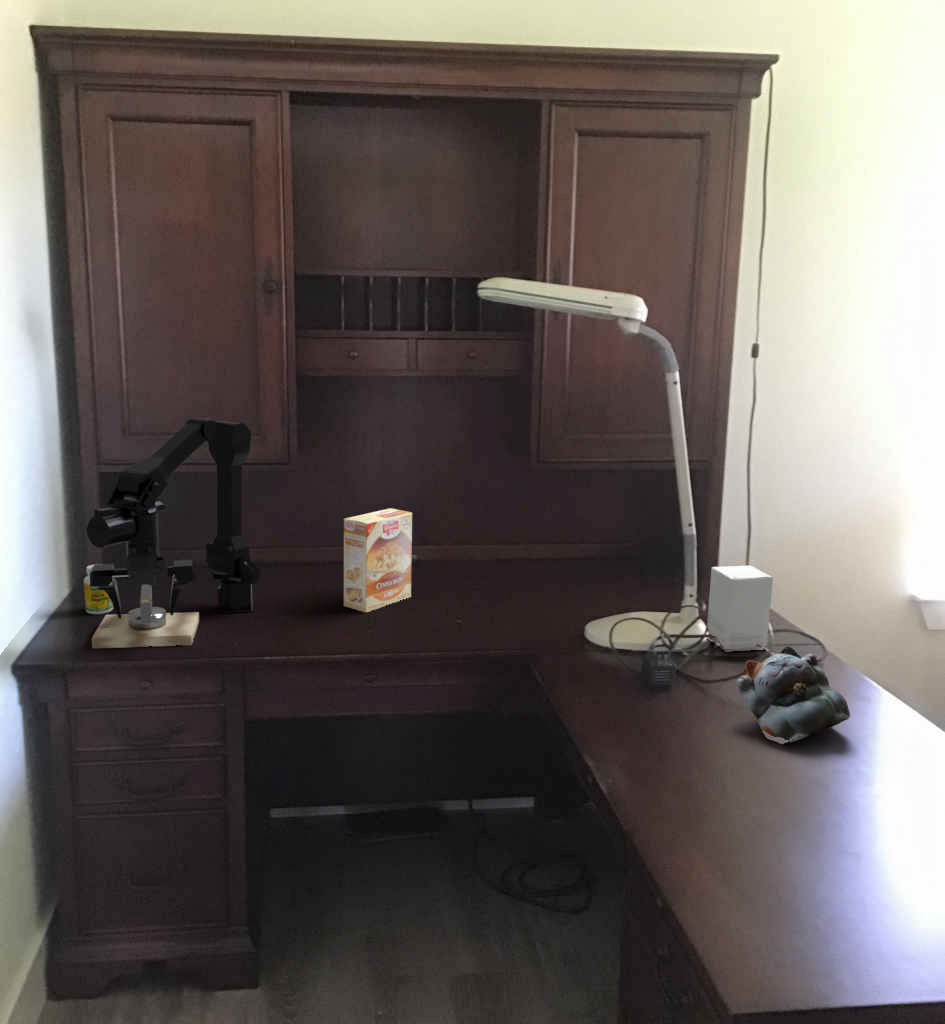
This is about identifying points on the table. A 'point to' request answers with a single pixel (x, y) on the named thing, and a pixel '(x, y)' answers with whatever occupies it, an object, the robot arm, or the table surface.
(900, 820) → the table surface
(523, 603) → the table surface
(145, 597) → the silver dome with handle
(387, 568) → the coffeecake box
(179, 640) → the base plate
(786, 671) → the lucky cat figurine
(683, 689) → the table surface
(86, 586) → the supplement bottle
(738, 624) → the supplement box
